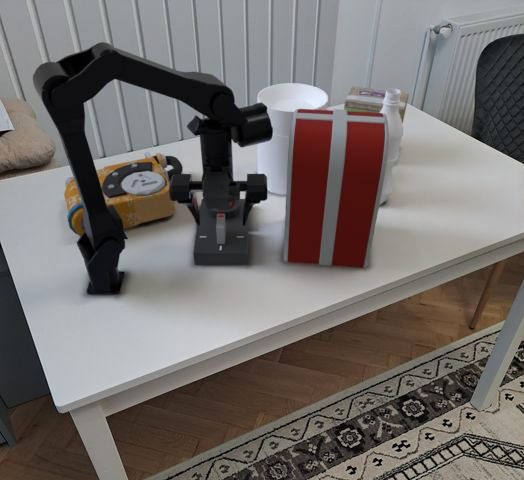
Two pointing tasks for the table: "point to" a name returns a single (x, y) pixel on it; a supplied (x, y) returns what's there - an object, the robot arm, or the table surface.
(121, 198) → the device
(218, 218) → the grey rectangular block
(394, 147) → the water bottle
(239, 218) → the button block
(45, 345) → the table surface
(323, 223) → the wrapped gift box
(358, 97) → the tea box
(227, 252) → the panel
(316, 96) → the canister
